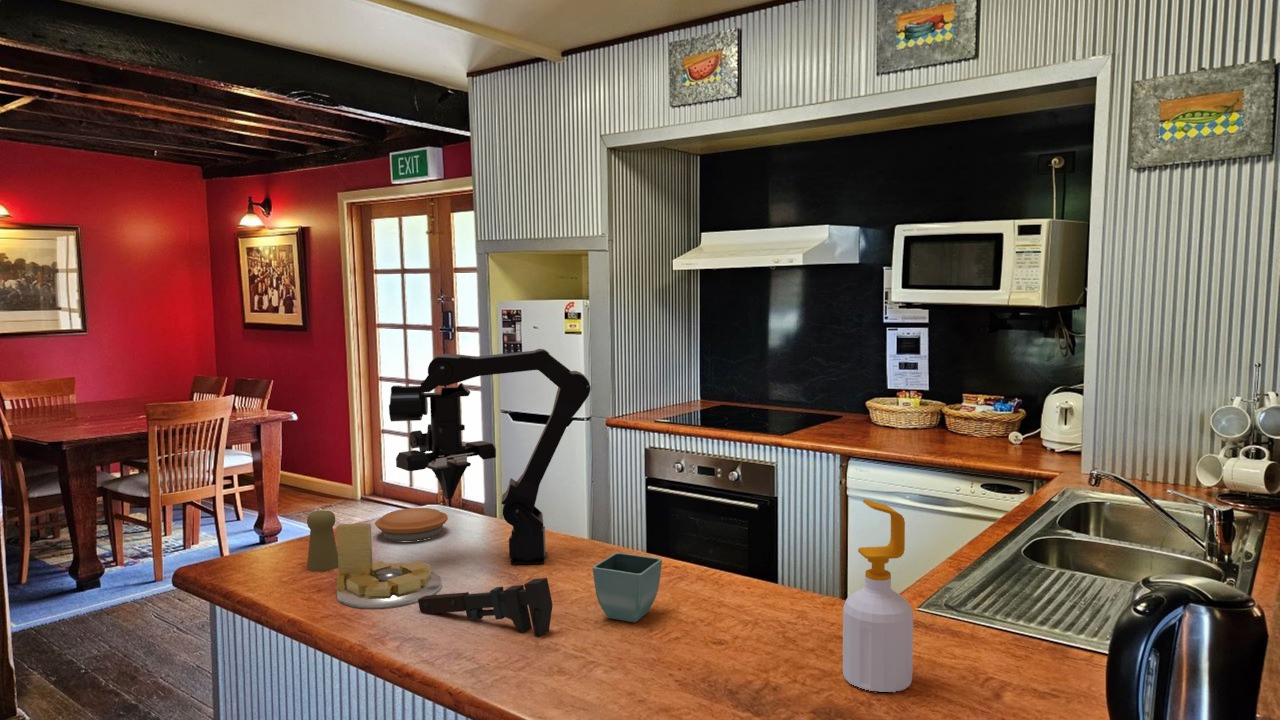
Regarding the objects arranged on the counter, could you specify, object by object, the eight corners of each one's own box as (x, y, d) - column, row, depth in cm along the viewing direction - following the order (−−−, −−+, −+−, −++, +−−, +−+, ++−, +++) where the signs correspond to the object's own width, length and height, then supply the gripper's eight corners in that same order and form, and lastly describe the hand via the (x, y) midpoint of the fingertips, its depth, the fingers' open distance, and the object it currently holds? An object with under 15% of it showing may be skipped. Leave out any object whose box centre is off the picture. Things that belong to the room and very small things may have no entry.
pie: (457, 525, 197) (456, 504, 197) (435, 546, 182) (434, 523, 181) (392, 525, 199) (391, 503, 198) (364, 545, 183) (363, 522, 183)
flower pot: (664, 610, 144) (663, 557, 143) (641, 630, 136) (640, 574, 135) (616, 603, 147) (615, 551, 146) (592, 621, 139) (591, 567, 138)
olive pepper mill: (345, 561, 172) (342, 507, 171) (331, 572, 166) (328, 515, 165) (315, 561, 172) (313, 507, 172) (301, 571, 166) (298, 515, 166)
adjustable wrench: (435, 636, 146) (557, 630, 135) (424, 642, 144) (548, 636, 133) (425, 588, 147) (547, 577, 135) (414, 593, 144) (537, 583, 133)
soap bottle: (834, 666, 122) (834, 494, 119) (897, 663, 122) (899, 492, 120) (855, 696, 113) (856, 511, 111) (923, 692, 113) (925, 509, 111)
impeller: (450, 572, 164) (450, 555, 164) (428, 608, 146) (427, 589, 146) (356, 574, 164) (355, 557, 164) (321, 609, 146) (320, 590, 146)
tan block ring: (437, 568, 162) (435, 513, 161) (418, 595, 148) (416, 535, 147) (353, 569, 162) (351, 515, 161) (326, 596, 148) (323, 536, 147)
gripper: (468, 410, 179) (471, 484, 180) (382, 420, 167) (385, 499, 168) (496, 416, 170) (498, 493, 172) (407, 427, 158) (411, 510, 160)
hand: (448, 499), depth 168 cm, fingers closed
